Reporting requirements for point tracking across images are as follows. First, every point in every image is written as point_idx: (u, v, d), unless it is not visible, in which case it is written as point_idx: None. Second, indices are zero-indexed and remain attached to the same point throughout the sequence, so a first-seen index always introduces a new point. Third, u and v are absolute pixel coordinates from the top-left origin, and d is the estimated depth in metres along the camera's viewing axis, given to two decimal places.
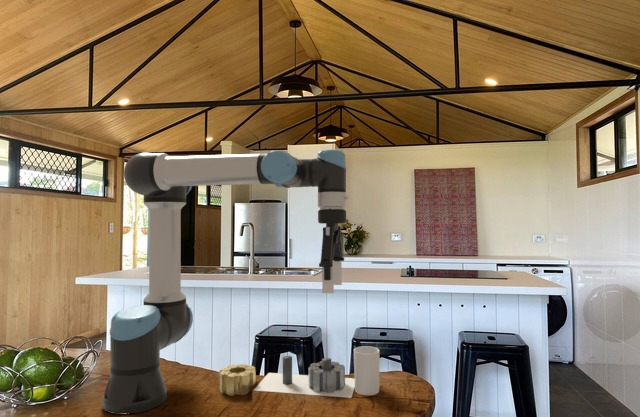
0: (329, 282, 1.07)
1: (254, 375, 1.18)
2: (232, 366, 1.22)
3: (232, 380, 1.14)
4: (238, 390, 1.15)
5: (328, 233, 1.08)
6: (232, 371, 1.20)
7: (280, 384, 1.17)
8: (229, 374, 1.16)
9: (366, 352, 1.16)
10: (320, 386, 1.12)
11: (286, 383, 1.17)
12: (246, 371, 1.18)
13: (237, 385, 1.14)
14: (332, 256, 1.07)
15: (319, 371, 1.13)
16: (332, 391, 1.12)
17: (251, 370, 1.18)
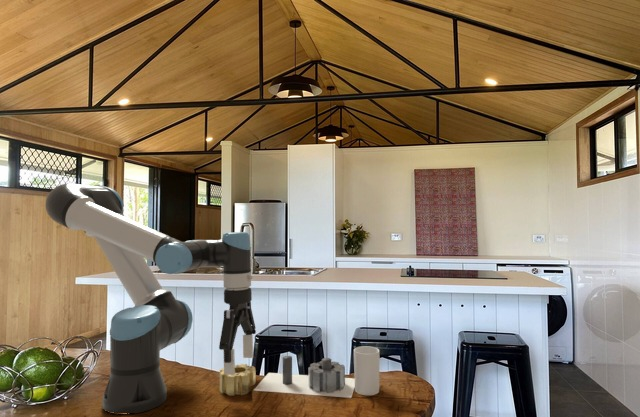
0: (230, 364, 1.12)
1: (254, 375, 1.18)
2: None
3: (232, 380, 1.14)
4: (238, 390, 1.15)
5: (228, 316, 1.12)
6: None
7: (280, 384, 1.17)
8: None
9: (366, 352, 1.16)
10: (320, 386, 1.12)
11: (286, 383, 1.17)
12: (246, 371, 1.18)
13: (237, 385, 1.14)
14: (232, 338, 1.12)
15: (319, 371, 1.13)
16: (332, 391, 1.12)
17: (251, 370, 1.18)
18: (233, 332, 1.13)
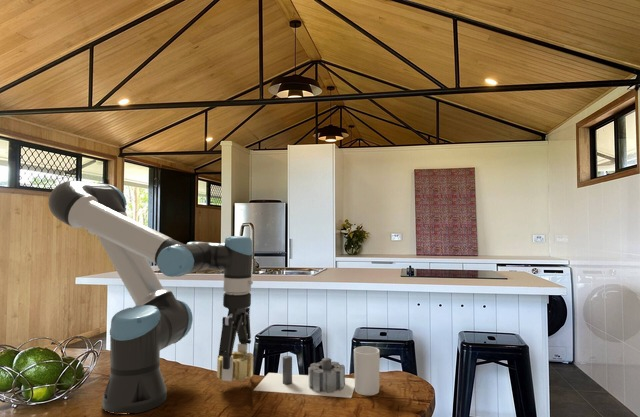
0: (228, 370, 1.13)
1: (252, 362, 1.18)
2: None
3: None
4: (235, 376, 1.15)
5: (227, 323, 1.12)
6: None
7: (280, 384, 1.17)
8: None
9: (366, 352, 1.16)
10: (320, 386, 1.12)
11: (286, 383, 1.17)
12: (244, 357, 1.18)
13: (235, 371, 1.15)
14: (231, 346, 1.13)
15: (319, 371, 1.13)
16: (332, 391, 1.12)
17: (249, 357, 1.19)
18: (232, 339, 1.14)
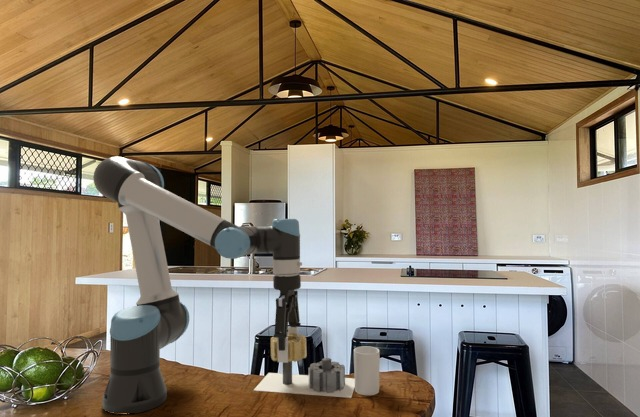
0: (284, 352, 1.13)
1: (305, 342, 1.18)
2: None
3: None
4: (291, 357, 1.14)
5: (281, 304, 1.12)
6: None
7: (280, 384, 1.17)
8: None
9: (366, 352, 1.16)
10: (320, 386, 1.12)
11: (286, 383, 1.17)
12: (297, 339, 1.18)
13: (290, 352, 1.14)
14: (286, 327, 1.13)
15: (319, 371, 1.13)
16: (332, 391, 1.12)
17: (302, 338, 1.18)
18: (286, 320, 1.14)
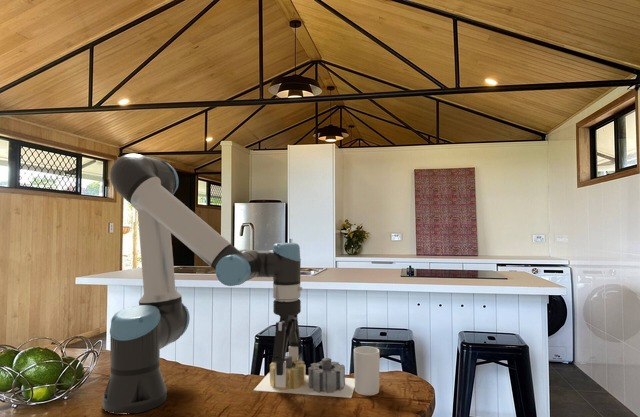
0: (281, 376, 1.12)
1: (304, 369, 1.18)
2: None
3: None
4: (290, 384, 1.14)
5: (280, 329, 1.12)
6: None
7: None
8: None
9: (366, 352, 1.16)
10: (320, 386, 1.12)
11: None
12: (296, 365, 1.17)
13: (289, 379, 1.14)
14: (284, 351, 1.12)
15: (319, 371, 1.13)
16: (332, 391, 1.12)
17: (301, 364, 1.18)
18: (284, 344, 1.13)
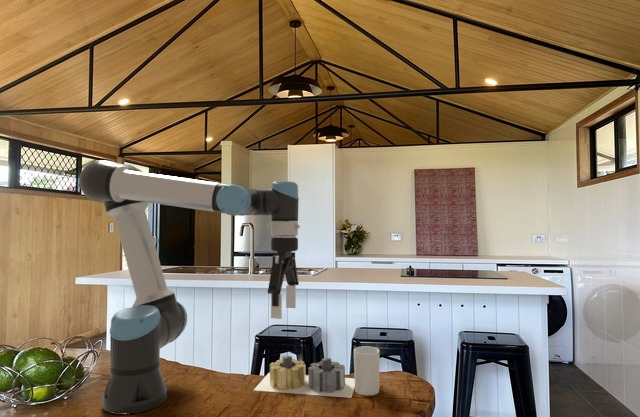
0: (277, 308, 1.13)
1: (304, 369, 1.18)
2: (281, 361, 1.21)
3: (284, 374, 1.14)
4: (290, 384, 1.14)
5: (277, 261, 1.14)
6: (281, 366, 1.20)
7: None
8: (280, 368, 1.15)
9: (366, 352, 1.16)
10: (320, 386, 1.12)
11: None
12: (296, 365, 1.17)
13: (289, 379, 1.14)
14: (280, 283, 1.14)
15: (319, 371, 1.13)
16: (332, 391, 1.12)
17: (301, 364, 1.18)
18: (281, 277, 1.15)
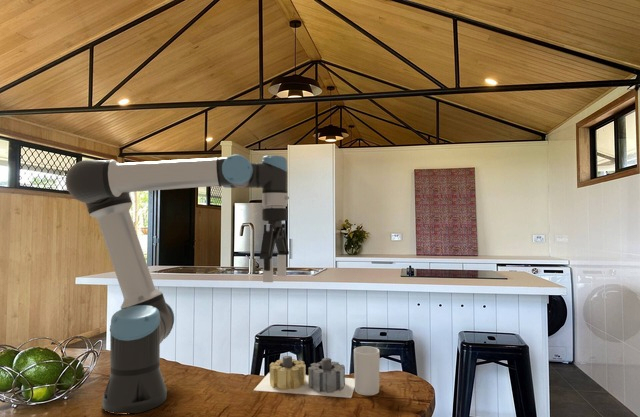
0: (269, 272, 1.21)
1: (304, 369, 1.18)
2: (281, 361, 1.21)
3: (284, 374, 1.14)
4: (290, 384, 1.14)
5: (268, 229, 1.22)
6: (281, 366, 1.20)
7: None
8: (280, 368, 1.15)
9: (366, 352, 1.16)
10: (320, 386, 1.12)
11: None
12: (296, 365, 1.17)
13: (289, 379, 1.14)
14: (271, 249, 1.22)
15: (319, 371, 1.13)
16: (332, 391, 1.12)
17: (301, 364, 1.18)
18: (272, 244, 1.23)
